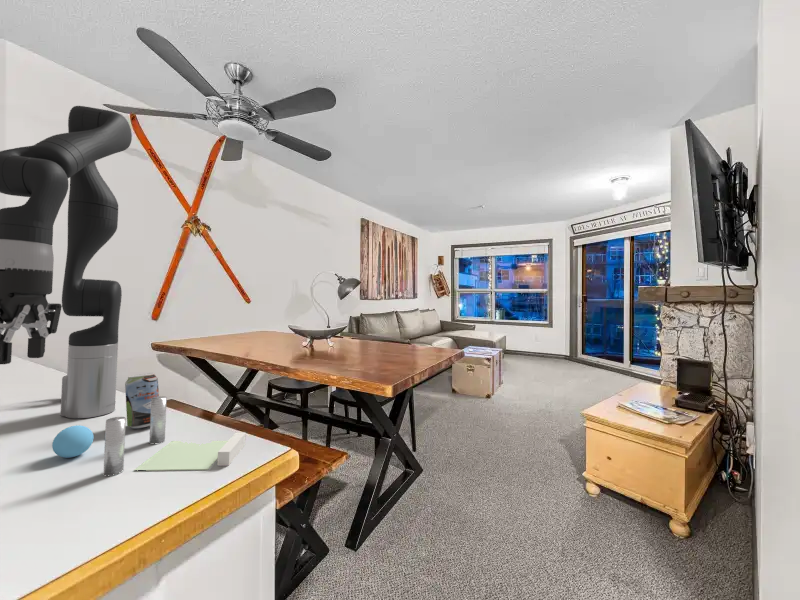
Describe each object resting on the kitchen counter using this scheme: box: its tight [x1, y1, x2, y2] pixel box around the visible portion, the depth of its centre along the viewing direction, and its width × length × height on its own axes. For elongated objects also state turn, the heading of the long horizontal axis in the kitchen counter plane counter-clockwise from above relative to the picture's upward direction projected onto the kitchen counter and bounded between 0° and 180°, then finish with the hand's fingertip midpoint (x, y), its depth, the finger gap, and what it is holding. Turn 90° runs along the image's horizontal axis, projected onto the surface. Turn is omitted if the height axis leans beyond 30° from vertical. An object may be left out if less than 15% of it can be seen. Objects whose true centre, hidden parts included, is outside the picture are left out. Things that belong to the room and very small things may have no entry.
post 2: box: [149, 395, 168, 445], centre depth 70 cm, size 3×3×9 cm
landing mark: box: [134, 440, 229, 472], centre depth 65 cm, size 12×12×1 cm
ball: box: [51, 424, 95, 459], centre depth 63 cm, size 6×6×6 cm
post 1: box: [103, 416, 127, 477], centre depth 58 cm, size 3×3×9 cm
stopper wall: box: [217, 432, 247, 467], centre depth 66 cm, size 2×9×2 cm, turn 7°
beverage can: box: [124, 372, 160, 429], centre depth 78 cm, size 6×7×12 cm
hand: (19, 360), depth 62 cm, fingers open, 5 cm apart
